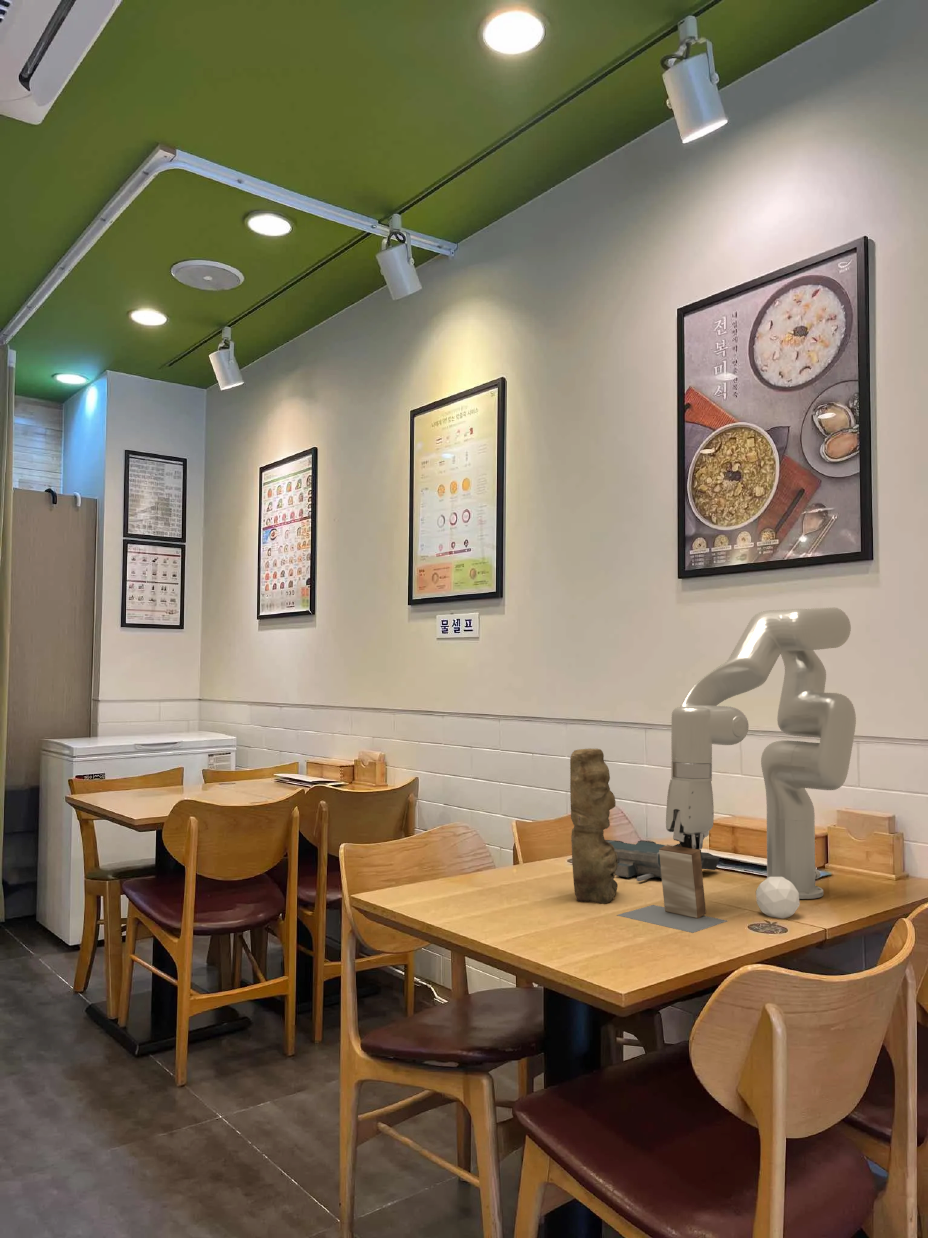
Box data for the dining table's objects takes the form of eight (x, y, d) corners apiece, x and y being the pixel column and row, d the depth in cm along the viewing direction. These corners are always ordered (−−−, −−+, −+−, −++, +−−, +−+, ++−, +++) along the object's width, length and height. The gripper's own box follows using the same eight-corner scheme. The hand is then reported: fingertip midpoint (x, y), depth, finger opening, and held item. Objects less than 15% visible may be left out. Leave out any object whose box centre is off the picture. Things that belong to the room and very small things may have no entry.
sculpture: (616, 908, 178) (616, 751, 180) (568, 905, 180) (569, 750, 182) (618, 894, 190) (618, 747, 192) (573, 891, 192) (574, 746, 194)
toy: (730, 849, 220) (683, 849, 196) (728, 886, 218) (680, 890, 194) (625, 833, 236) (570, 831, 212) (622, 867, 234) (566, 869, 210)
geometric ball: (789, 933, 172) (816, 902, 170) (762, 923, 168) (789, 890, 166) (766, 904, 178) (792, 874, 176) (739, 894, 174) (765, 862, 173)
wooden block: (673, 906, 175) (667, 844, 175) (706, 913, 170) (700, 849, 170) (664, 912, 173) (658, 849, 172) (697, 919, 168) (691, 854, 167)
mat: (653, 908, 178) (653, 904, 178) (728, 924, 167) (728, 920, 167) (616, 918, 170) (616, 915, 170) (692, 936, 159) (692, 932, 159)
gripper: (695, 768, 183) (694, 862, 182) (652, 772, 172) (651, 872, 171) (729, 771, 178) (729, 868, 176) (687, 775, 167) (687, 878, 166)
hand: (691, 870), depth 174 cm, fingers closed
